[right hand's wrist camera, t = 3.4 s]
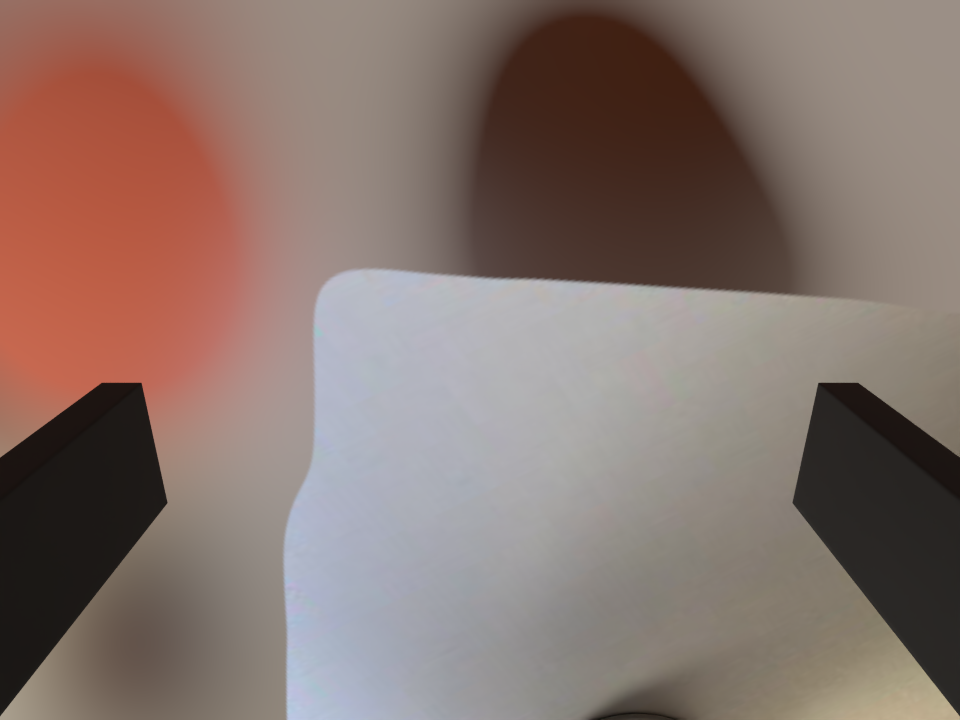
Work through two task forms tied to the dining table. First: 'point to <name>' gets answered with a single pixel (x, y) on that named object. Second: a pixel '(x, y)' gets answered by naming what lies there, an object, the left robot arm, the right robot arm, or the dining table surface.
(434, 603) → the dining table surface
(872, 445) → the right robot arm
